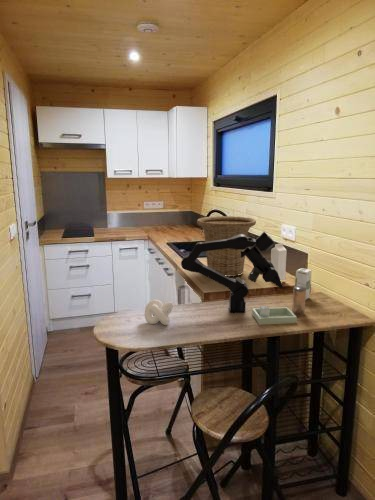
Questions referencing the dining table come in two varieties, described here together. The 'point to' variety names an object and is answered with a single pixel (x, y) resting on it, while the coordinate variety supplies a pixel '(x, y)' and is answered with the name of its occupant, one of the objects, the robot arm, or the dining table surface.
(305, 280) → the syrup box
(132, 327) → the dining table surface
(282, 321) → the tote
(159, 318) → the cream knot sculpture
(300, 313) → the coffee tin
